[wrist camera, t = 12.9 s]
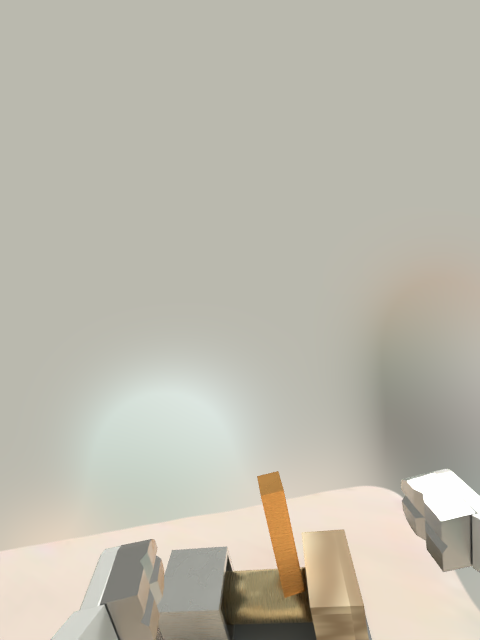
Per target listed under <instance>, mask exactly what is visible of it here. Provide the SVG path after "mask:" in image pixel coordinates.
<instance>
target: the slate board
mask: <svg viewBox="0 0 480 640" xmlns="http://www.w3.org/2000/svg"><path fill="white" fill-rule="evenodd" d="M365 617H366V615H365ZM366 624H367V630H368V637H369V640H372V638H371V635H370V631H369V627H368V623H367V619H366ZM234 640H317V638H316V633H315V629H314V624H313V622H307V623H272V624H237V625H235V632H234Z"/></svg>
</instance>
